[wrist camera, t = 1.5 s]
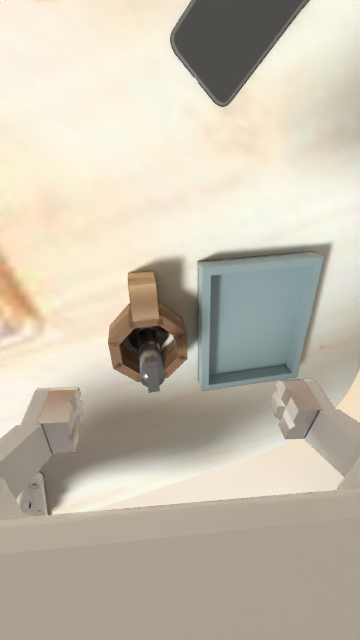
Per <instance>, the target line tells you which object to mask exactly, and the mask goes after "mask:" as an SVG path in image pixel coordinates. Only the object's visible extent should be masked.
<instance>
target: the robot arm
mask: <svg viewBox="0 0 360 640" xmlns="http://www.w3.org/2000/svg"><path fill="white" fill-rule="evenodd" d="M275 387H276V389H277V391H275V392H274V393H273V394H272V397H271V408H272V411H273V414H274V416H275V417H277V418H278V419H279V420H280V422H279V427H280V429H281V431H282V433H283V436H284V438H285V439H305V441H307V442H308V443H309V444H310V445H311V446H312V447H313V448H314V449H315V450H316V451H317V452H318V453H319V454H320V455H321V456H322V457H324V458H325V459H326V460H327V461H328V462H329V463H330V464H331V465H332V466H333V467H334V468H335V469H336V470H337V471H338V472H340V473H341V475H342V476H344V478H343V479H342V481H341V482H340V483H339V485H338V487H337V490H332V491H319V492H308V493H297V494H285V495H274V496H263V497H251V498H239V499H228V500H217V501H205V502H193V503H182V504H171V505H160V506H148V507H138V508H125V509H114V510H103V511H91V512H80V513H69V514H57V515H48V511H47V503H46V495H45V487H44V479H43V475H42V474H41V473H39V471H40V470H41V468H42V467H43V466H44V465H45V464H46V462H47V461H48V460H49V459H50V457H51V456H52V454H59V453H71V452H76V448H77V444H78V439H79V433H78V428H79V427H80V426H81V425H82V420H83V403H82V401H81V400H80V395H81V393H80V389H79V388H78V387H65V388H37V390H36V391H35V392H34V394H33V397H32V399H31V401H30V404H29V406H28V409H27V411H26V413H25V416H24V418H23V420H22V423H21V425H16V426H15V427H14V428H13V429H11V430H10V431H9V432H8V433H7V434H5V435H4V436H3V437H2V438H1V439H0V640H360V423H359V422H357V421H356V420H354V419H353V418H351V417H350V416H348V415H346V414H345V413H343V412H342V411H340V410H336V409H335V408H334V406H333V405H332V404H331V402H330V401H329V399H328V398H327V396H326V395H325V393H324V392H323V390H322V389H321V388H320V386H319V385H318V383H317V382H316V381H315V380H314V379H295V380H279V381H278V382H277V383H276V386H275Z"/></svg>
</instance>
